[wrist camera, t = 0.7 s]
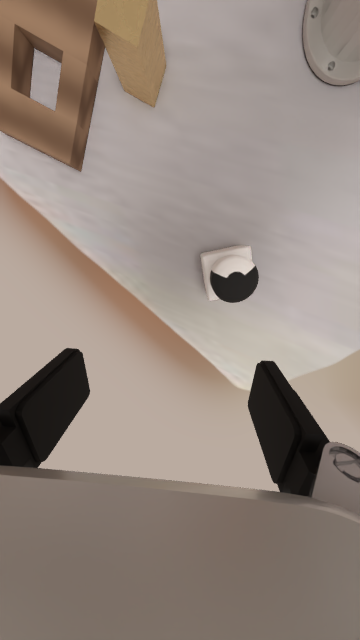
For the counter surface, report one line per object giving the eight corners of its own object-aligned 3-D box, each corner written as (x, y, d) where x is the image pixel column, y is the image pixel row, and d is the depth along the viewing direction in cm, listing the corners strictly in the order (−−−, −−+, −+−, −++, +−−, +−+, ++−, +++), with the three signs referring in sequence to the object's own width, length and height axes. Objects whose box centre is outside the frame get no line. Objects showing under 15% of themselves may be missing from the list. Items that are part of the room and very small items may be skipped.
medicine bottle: (243, 284, 36) (266, 303, 25) (205, 291, 37) (211, 312, 25) (239, 244, 33) (263, 245, 22) (199, 253, 34) (203, 258, 23)
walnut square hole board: (17, -74, 22) (-8, -121, 19) (116, -13, 23) (105, -48, 20) (5, 134, 29) (-14, 122, 26) (80, 171, 30) (69, 164, 28)
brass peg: (135, 47, 25) (106, -52, 16) (166, 65, 25) (153, -22, 17) (124, 90, 26) (93, 21, 18) (154, 107, 27) (137, 47, 19)
